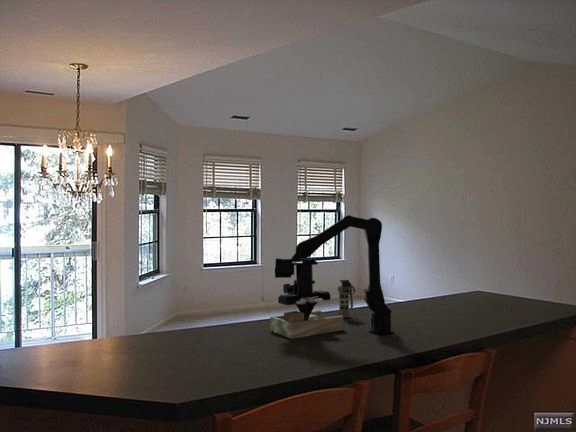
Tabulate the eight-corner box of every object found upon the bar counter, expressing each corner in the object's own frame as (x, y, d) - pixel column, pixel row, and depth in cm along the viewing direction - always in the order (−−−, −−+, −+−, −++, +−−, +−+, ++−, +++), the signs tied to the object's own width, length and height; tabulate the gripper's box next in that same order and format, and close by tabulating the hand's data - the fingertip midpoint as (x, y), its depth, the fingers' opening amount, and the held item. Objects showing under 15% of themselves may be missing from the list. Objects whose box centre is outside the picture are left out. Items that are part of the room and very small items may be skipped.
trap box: (343, 329, 181) (343, 315, 181) (291, 338, 169) (291, 323, 169) (319, 323, 193) (319, 310, 193) (270, 330, 181) (270, 316, 181)
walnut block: (304, 327, 174) (303, 313, 174) (291, 329, 172) (291, 314, 172) (296, 325, 179) (295, 310, 179) (284, 326, 176) (283, 312, 176)
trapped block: (317, 328, 185) (317, 315, 186) (308, 329, 183) (308, 317, 183) (309, 326, 189) (309, 314, 189) (300, 328, 186) (300, 315, 186)
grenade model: (346, 319, 200) (345, 281, 200) (336, 316, 206) (335, 279, 206) (359, 317, 203) (358, 280, 203) (348, 315, 209) (348, 278, 209)
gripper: (312, 273, 189) (313, 315, 189) (269, 277, 179) (270, 321, 179) (331, 276, 180) (331, 320, 180) (286, 280, 170) (287, 327, 170)
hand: (305, 322), depth 178 cm, fingers closed
